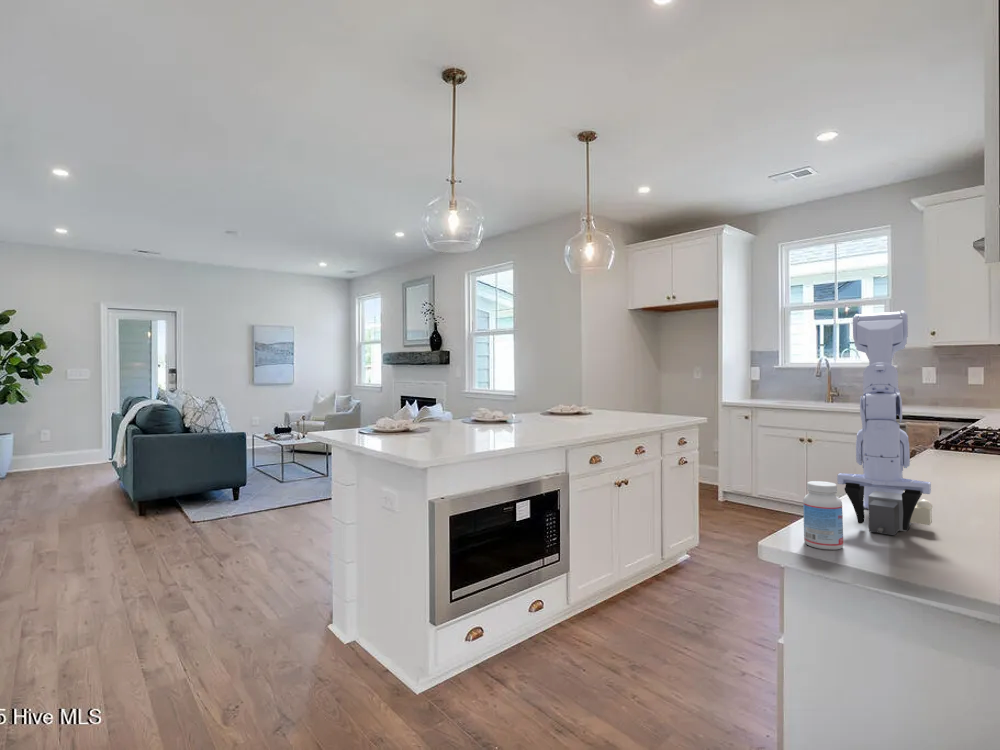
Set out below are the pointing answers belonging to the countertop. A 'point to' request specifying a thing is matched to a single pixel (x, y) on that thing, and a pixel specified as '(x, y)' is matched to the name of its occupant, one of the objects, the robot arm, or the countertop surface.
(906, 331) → the robot arm
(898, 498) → the socket cube
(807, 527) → the pill bottle
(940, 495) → the countertop surface
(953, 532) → the countertop surface
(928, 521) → the night light
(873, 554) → the countertop surface
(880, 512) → the block
